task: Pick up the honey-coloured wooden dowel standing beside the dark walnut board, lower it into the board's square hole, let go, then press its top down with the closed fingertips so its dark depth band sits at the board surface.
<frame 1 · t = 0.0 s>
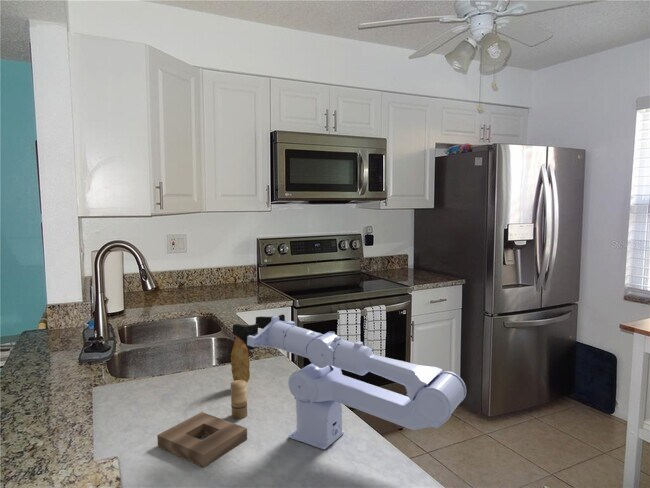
hand: (245, 324, 106), 22 cm above the table, tool horizontal, fingers open, 7 cm apart
dowel: (239, 415, 108), on the table
stone tool: (241, 388, 124), on the table
board: (203, 442, 96), on the table
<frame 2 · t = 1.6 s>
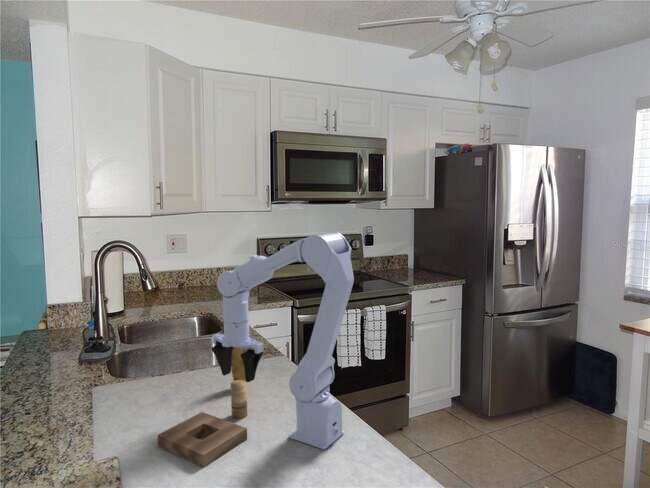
hand: (238, 377, 107), 9 cm above the table, tool pointing down, fingers open, 7 cm apart
nothing on the table moved.
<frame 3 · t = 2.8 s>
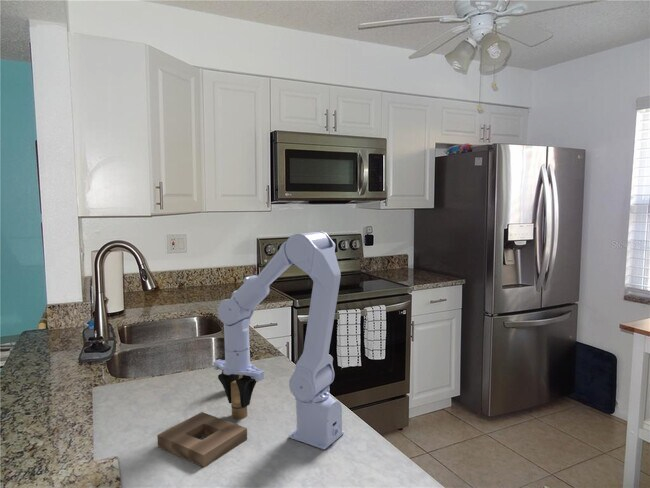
hand: (239, 403, 107), 3 cm above the table, tool pointing down, fingers closed on dowel, 4 cm apart
dowel: (239, 415, 108), on the table, touching gripper
everything else where it was.
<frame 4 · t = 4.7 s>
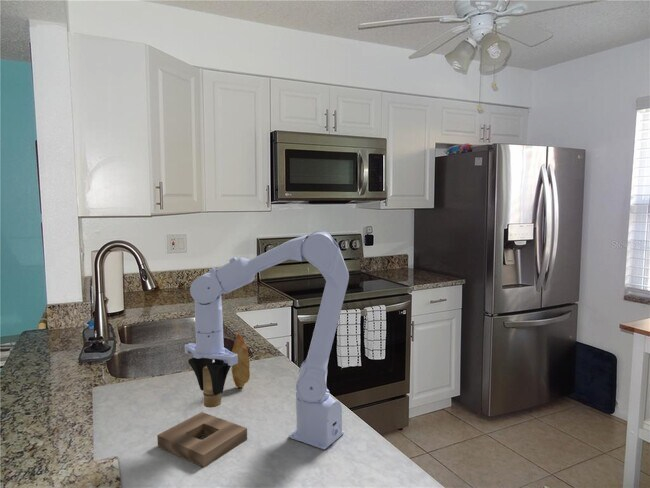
hand: (211, 390, 98), 10 cm above the table, tool pointing down, fingers closed on dowel, 4 cm apart
dowel: (212, 403, 98), point 7 cm above the table, touching gripper
everything else where it was.
when the fingers open (4 cm above the table, at t = 6.8 s): dowel stays where it is, resting in board.
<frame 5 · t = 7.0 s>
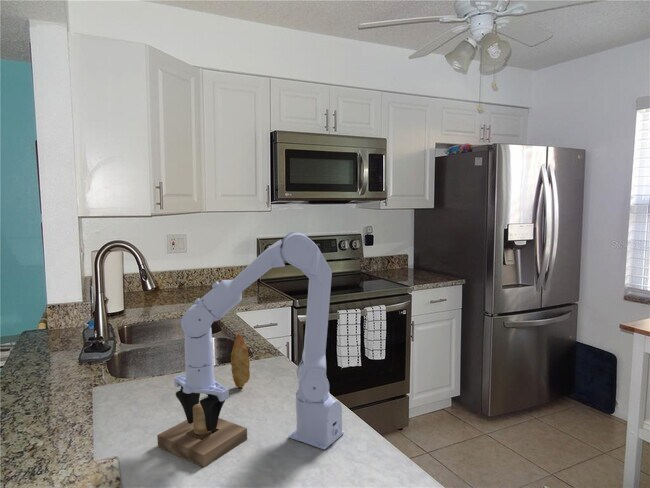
hand: (202, 425, 95), 4 cm above the table, tool pointing down, fingers open, 5 cm apart
dowel: (203, 442, 96), resting in board
everything else where it was.
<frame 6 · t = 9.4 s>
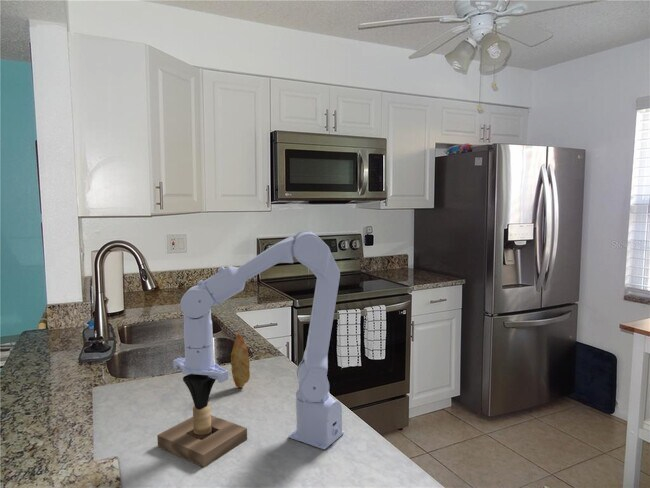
hand: (201, 407, 95), 8 cm above the table, tool pointing down, fingers closed, pressing on dowel
dowel: (203, 443, 96), resting in board, touching gripper
everything else where it was.
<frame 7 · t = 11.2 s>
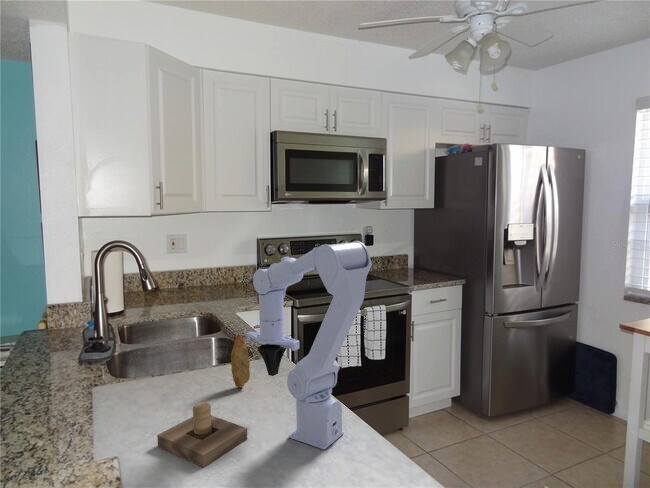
hand: (273, 374, 108), 9 cm above the table, tool pointing down, fingers closed
dowel: (203, 442, 96), resting in board
everything else where it was.
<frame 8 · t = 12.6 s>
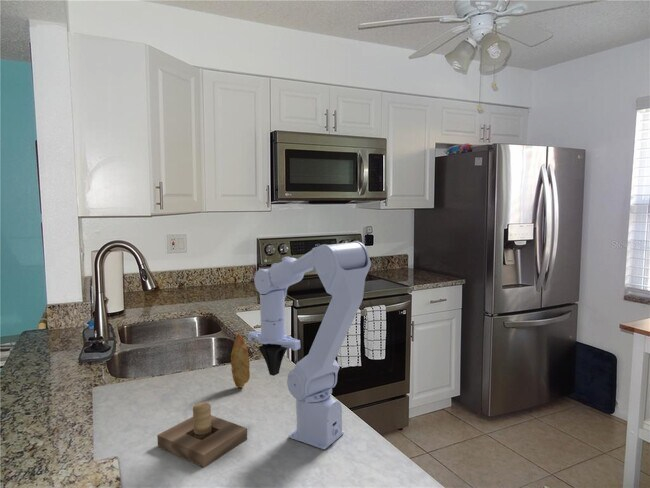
hand: (274, 373, 108), 9 cm above the table, tool pointing down, fingers closed
nothing on the table moved.
at the end: dowel 0.1 cm off-centre on the board, point 0.0 cm above the board's base; dowel tilted 0° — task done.
